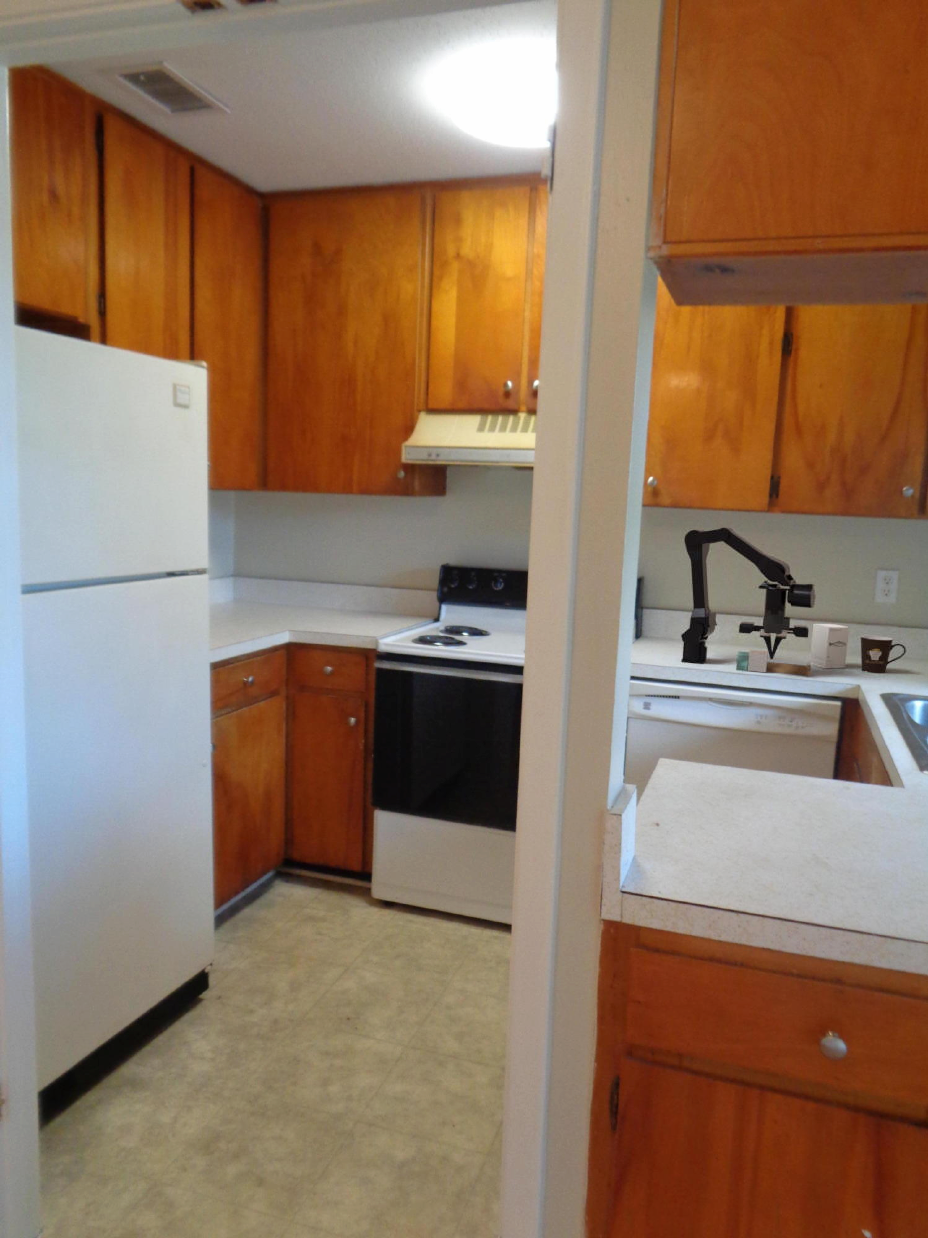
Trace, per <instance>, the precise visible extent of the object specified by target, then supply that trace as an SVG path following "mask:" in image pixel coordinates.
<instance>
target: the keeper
mask: <svg viewBox="0 0 928 1238" xmlns="http://www.w3.org/2000/svg"><path fill="white" fill-rule="evenodd" d="M748 652H749V660H748V670H747V672H748V671H750V672H760V673H767V672H766V668H767V662H769V661H768V660H769V659H768V658H769V652H768V650H767V651H766V650H754V649H749V651H748Z"/></svg>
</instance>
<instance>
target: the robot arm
mask: <svg viewBox="0 0 928 1238" xmlns="http://www.w3.org/2000/svg"><path fill="white" fill-rule="evenodd" d="M683 540H684V546H685V550H686V552H687V554H688V557H689V560H690V569H691V570H690V573H691V584H692V585H691V587H692V588H691V589H692V605H693V608H692V612H691V614H690V618H689V626H688V627H689V628H688V629H686V630H685V631H684V632H683V633H681V634H680V637H681V640H682V642H683V644H682V645H683V646H682V658H681V661H680V662H683V661H685V662H686V663H693V662H696V664H704V663H705V662H706V661H707V659H708V658H707V657H708V645H706V644H707V643H706V642H707V640H708V639H709V637H710V636H711V635H713V633H714V632H715V631H716V626H718V623H717V612H716V611H714V612H712V611H711V609H710V606H709V587H708V569H707V568H708V565H707V558H708V555H709V552H710V545H711V544H716V543H721V542H723V543H724V544H726V545H727V546H729V547H730V548H731V549H732V550H734V551H736V552H737V553H738V554H740V555H741V556H743V558H745V559H747V560H748V561H749V562H750V563H752V564H753V565H754V566H755V567H756V568H757V569H758V571H759V572H760V573H761V574H762V575H763V576H764V577H765V578H766V579H767V580H763V582H762V583H761V584H760V585H759V586H758V587H757V588H758V589H761V590H765V595H764V597H765V598H764V612H763V619H762V625H758V624H755V622H754V621H753V622H752V621H750V622H749V621H741V622H740V623H739V626H738V633H739V634H747V635H748V634H751V633H752V632H758V633H760V634H759V637H760V638H763V640H764V642H765V644H766V648H767V651H768V657H769V659H770V660H773V659H774V657H775V654H776V652H777V649H778V647H779V645H780V644H781V642H782V640H786V639H787V635H788V634H789V635H794V636H795V637H796V638H806V639H807V638H809V629H810V628H809V627H808V626H807V625H801V624H800V625H798V624H794V625H793V627H790V626H791V625H790V624H791V617H789V616H786V608H787V603H788V604H790V607H791V608H802V609H803V608H806V609H813V608H814V607H815V602H816V593H815V584H814V583H797V582H796V580H795V578H794V577H793V576H792V574H791V568H790V566H789V564H788V563H786V562H785V561H783V560H781V559H779V558H776V557H774V556H771V555H769V554H767V553H765V552H763V551H762V550H760V549H759V548H758V547H756V546H755V545H753V544H752V543H751V542H750V541H748V540H746V539H745V538H744V537H742V536H741V535H739V534H738V533H737V532H735V531H734V530H733V529H732V528H731V527H720V528H716V529H712V530H711V529H710V530H704V529H692V530H691V529H690V531H688V532H687V533H685V536H684V539H683ZM770 582H771V583H770ZM772 634H775V637H774V641H773V642H772ZM772 643H773V644H772ZM772 645H773V646H772ZM685 662H684V663H685Z"/></svg>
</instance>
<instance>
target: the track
mask: <svg viewBox="0 0 928 1238" xmlns="http://www.w3.org/2000/svg"><path fill="white" fill-rule="evenodd" d="M749 652H750V651H741V650H740V651H738V652H737V654H736V656H737V657H736V668H735V670H736V671H740V670H741V671H742V672H748V660H749ZM811 670H812V666H811V664H806V665H805V664H794V663H793V664H792V663H786V662H785V663H783V662H772V661H771V662H770V661H767V668H766V671H769V672H768V673H776V674H777V673H779V674H787V673H789V674H788V675H798V676H799V675H800V676H806V677H811V672H812V671H811ZM741 671H740V672H741Z"/></svg>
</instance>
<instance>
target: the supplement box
mask: <svg viewBox="0 0 928 1238" xmlns="http://www.w3.org/2000/svg"><path fill="white" fill-rule="evenodd" d="M812 626H813V627H812V636H811V647H810V658H809V665H812V666H814V667H819V668H822V669H845V668H846V660H847V650H848V642H849V641H848V639H849V628H850V627H849V626H845V625H842V624H841V625H840V624H833V623H813V625H812Z"/></svg>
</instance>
